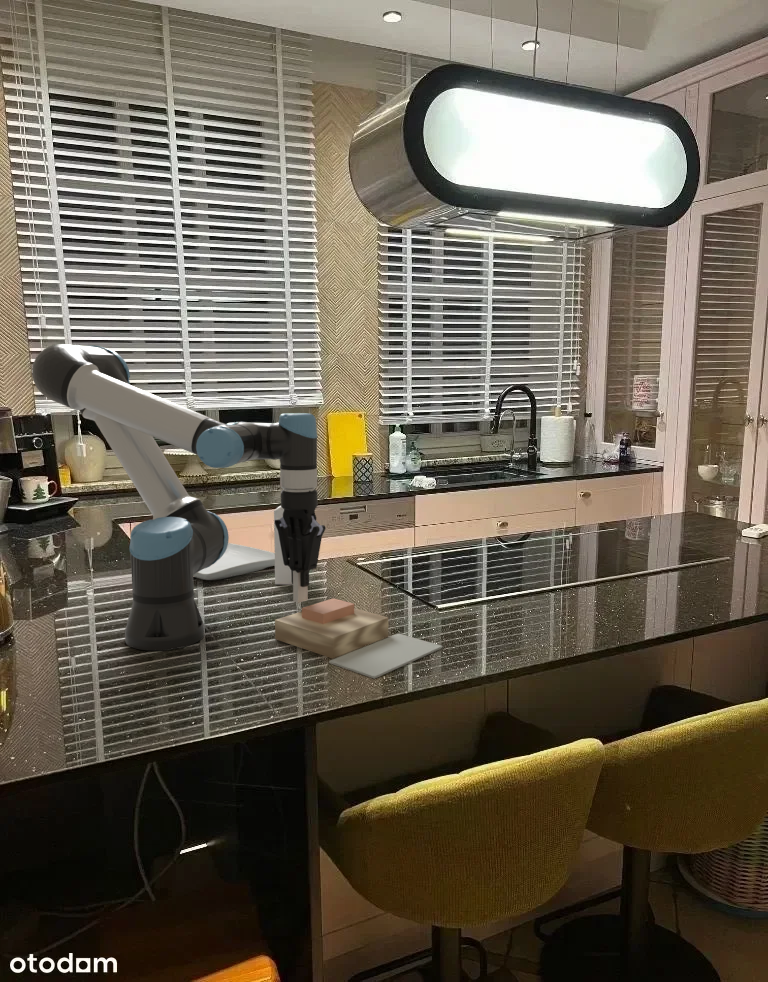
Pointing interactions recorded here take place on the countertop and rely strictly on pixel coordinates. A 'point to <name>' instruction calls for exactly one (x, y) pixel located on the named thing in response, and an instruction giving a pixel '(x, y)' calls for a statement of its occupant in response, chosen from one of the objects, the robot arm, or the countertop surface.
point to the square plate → (237, 562)
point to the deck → (332, 632)
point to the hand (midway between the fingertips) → (300, 600)
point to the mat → (385, 655)
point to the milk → (280, 555)
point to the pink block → (327, 610)
